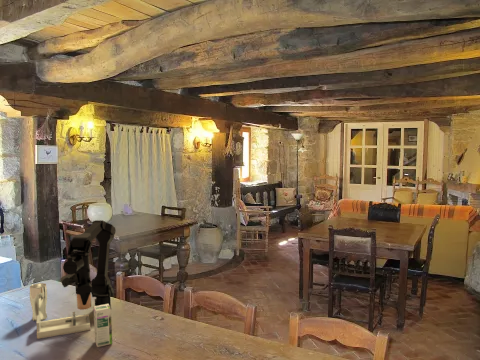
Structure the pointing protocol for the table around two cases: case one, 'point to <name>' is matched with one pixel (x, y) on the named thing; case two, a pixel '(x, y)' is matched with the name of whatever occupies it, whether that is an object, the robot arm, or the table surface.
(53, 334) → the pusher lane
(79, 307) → the terracotta jar
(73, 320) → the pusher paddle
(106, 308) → the syrup box
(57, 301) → the table surface
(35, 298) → the beer glass
